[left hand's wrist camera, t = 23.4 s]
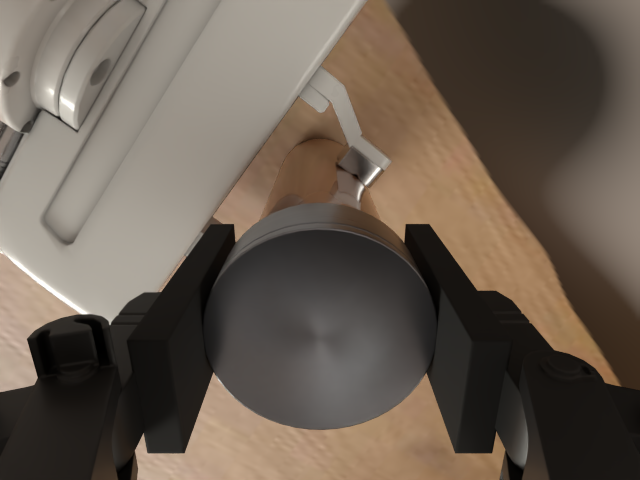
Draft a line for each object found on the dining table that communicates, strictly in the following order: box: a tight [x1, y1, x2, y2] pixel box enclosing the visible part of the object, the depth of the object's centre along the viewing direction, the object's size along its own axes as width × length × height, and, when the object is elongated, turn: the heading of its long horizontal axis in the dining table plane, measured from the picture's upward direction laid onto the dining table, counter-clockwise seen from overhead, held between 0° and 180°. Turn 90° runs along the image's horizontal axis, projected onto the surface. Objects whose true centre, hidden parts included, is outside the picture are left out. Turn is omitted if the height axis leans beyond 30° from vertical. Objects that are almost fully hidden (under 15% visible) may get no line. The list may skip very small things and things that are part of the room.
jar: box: [259, 139, 381, 221], centre depth 19 cm, size 5×5×16 cm
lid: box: [202, 203, 438, 430], centre depth 11 cm, size 6×6×2 cm
